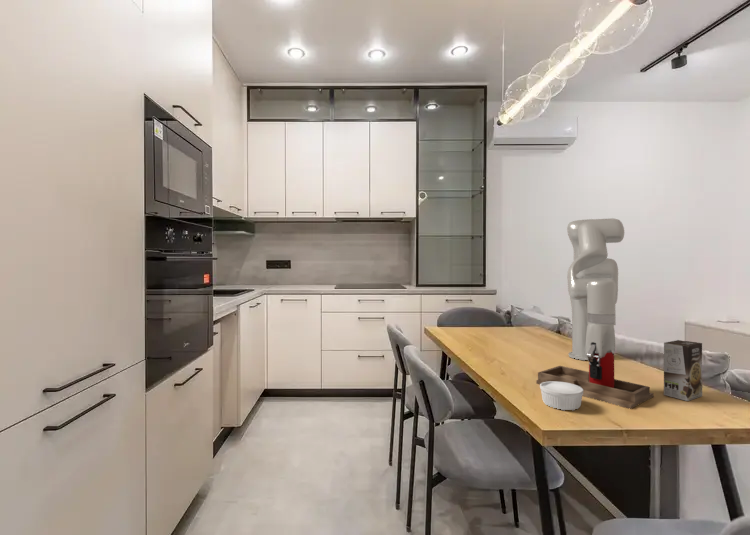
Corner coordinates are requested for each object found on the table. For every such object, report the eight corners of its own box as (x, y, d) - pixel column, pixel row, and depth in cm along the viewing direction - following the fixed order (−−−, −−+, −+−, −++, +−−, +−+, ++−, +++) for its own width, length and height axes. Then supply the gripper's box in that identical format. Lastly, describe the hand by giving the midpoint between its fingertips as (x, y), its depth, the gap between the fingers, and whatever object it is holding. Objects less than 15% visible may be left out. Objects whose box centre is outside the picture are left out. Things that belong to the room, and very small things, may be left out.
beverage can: (607, 384, 119) (607, 347, 119) (619, 391, 112) (618, 352, 112) (585, 384, 120) (585, 346, 120) (595, 391, 113) (595, 351, 113)
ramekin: (548, 395, 114) (548, 378, 114) (589, 404, 106) (588, 386, 106) (533, 405, 106) (533, 386, 106) (575, 416, 98) (575, 396, 98)
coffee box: (688, 401, 107) (688, 346, 107) (662, 395, 113) (662, 342, 113) (703, 396, 111) (703, 342, 111) (678, 390, 117) (677, 339, 117)
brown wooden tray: (536, 383, 125) (536, 372, 125) (561, 374, 134) (561, 365, 134) (630, 408, 102) (630, 396, 102) (653, 396, 112) (653, 385, 111)
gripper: (601, 315, 124) (602, 368, 124) (574, 320, 114) (575, 378, 114) (626, 318, 118) (627, 374, 118) (600, 323, 108) (601, 384, 108)
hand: (601, 375), depth 116 cm, fingers closed on beverage can, 6 cm apart
